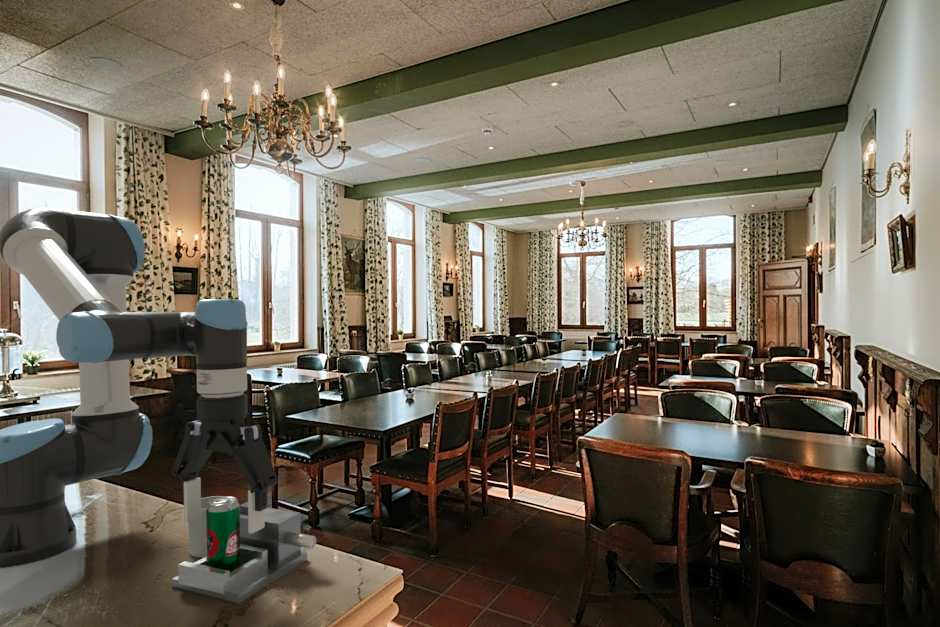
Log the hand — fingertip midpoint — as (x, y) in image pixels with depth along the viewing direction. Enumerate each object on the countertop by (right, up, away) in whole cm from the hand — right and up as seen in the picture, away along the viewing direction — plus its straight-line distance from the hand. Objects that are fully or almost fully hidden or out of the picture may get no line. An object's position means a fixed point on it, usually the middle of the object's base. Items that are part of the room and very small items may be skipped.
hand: (223, 524), depth 90 cm
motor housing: (+3, -10, +3) cm, 11 cm away
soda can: (0, -8, 0) cm, 8 cm away
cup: (-9, -10, +14) cm, 20 cm away
